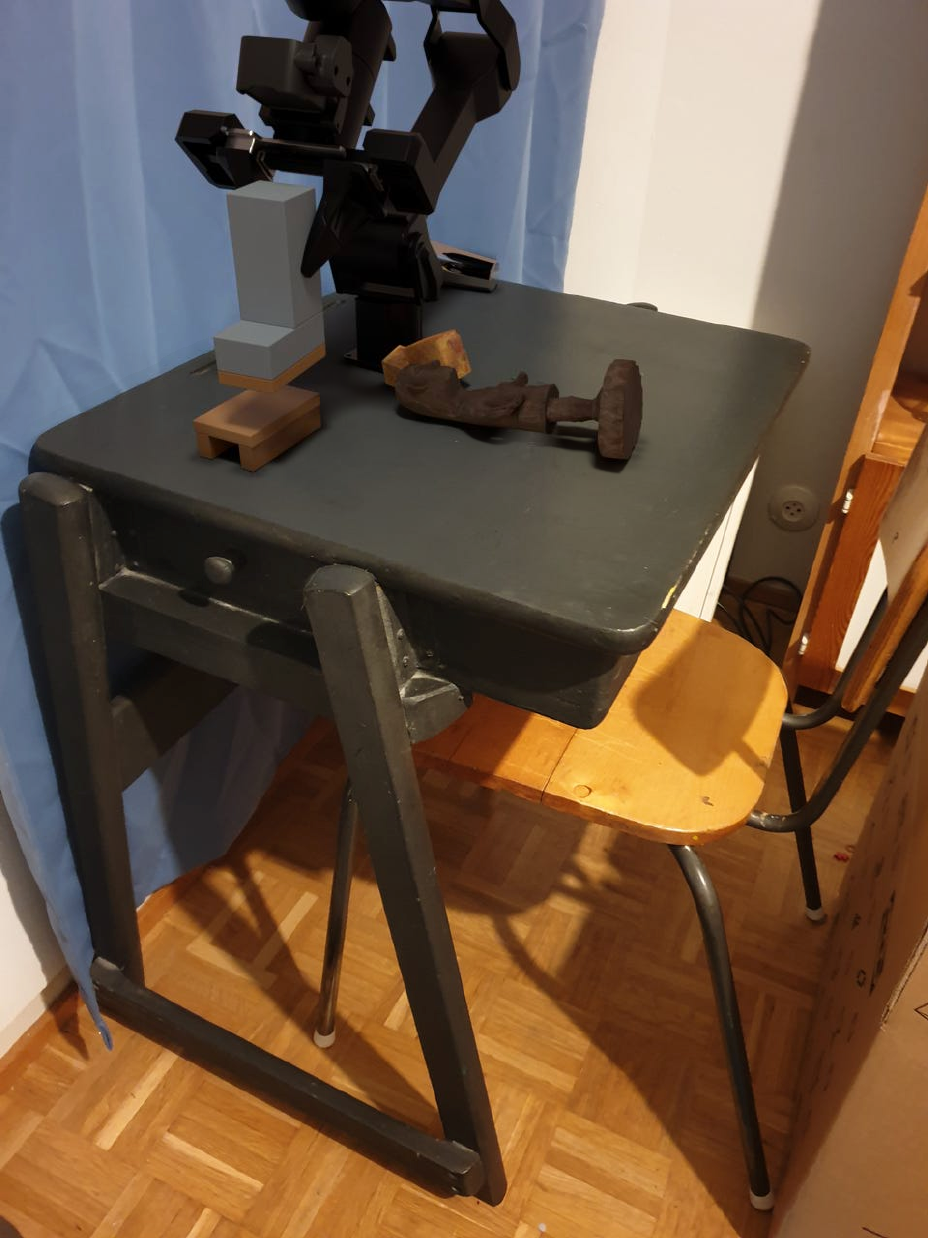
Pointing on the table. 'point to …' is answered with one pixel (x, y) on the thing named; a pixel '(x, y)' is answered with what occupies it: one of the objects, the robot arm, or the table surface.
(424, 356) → the pyrite
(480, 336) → the table surface
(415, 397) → the figurine
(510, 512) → the table surface
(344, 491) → the table surface
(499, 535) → the table surface
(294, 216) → the grey stepped block
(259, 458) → the wooden footstool
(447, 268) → the milkshake
